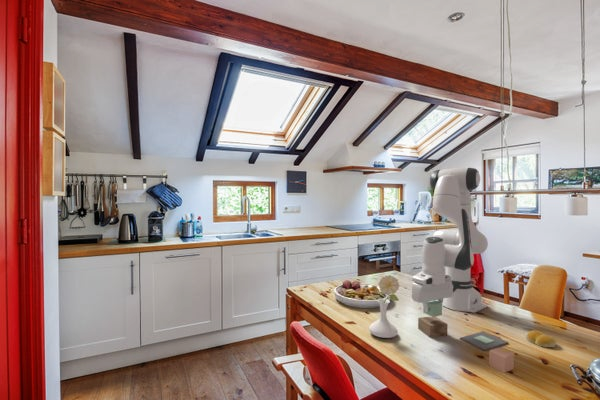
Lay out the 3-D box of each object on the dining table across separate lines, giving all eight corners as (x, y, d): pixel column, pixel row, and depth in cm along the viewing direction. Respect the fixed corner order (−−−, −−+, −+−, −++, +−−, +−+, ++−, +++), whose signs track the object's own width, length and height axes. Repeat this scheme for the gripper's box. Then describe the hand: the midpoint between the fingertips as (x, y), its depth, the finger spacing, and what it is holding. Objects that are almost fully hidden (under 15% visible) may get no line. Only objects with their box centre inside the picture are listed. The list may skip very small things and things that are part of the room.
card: (483, 332, 126) (483, 330, 126) (508, 343, 117) (508, 341, 117) (460, 339, 120) (460, 337, 120) (484, 351, 111) (484, 348, 111)
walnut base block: (434, 327, 131) (435, 316, 131) (447, 336, 123) (447, 324, 123) (418, 329, 130) (418, 317, 129) (429, 338, 122) (429, 325, 122)
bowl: (402, 302, 161) (402, 288, 161) (362, 315, 144) (363, 298, 144) (361, 288, 186) (361, 275, 186) (323, 297, 169) (323, 283, 169)
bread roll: (547, 350, 113) (547, 339, 113) (522, 339, 121) (522, 329, 121) (561, 346, 116) (561, 336, 115) (536, 336, 124) (536, 326, 124)
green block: (432, 310, 129) (432, 299, 129) (441, 315, 125) (442, 303, 125) (423, 312, 127) (423, 300, 127) (433, 317, 123) (433, 304, 123)
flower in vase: (363, 332, 125) (363, 272, 125) (380, 325, 132) (381, 268, 132) (389, 345, 115) (390, 279, 114) (407, 337, 122) (408, 275, 121)
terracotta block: (498, 361, 104) (498, 347, 104) (513, 369, 100) (514, 354, 100) (489, 365, 102) (489, 350, 102) (504, 373, 98) (504, 357, 98)
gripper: (444, 272, 133) (443, 304, 133) (409, 277, 125) (408, 310, 125) (457, 276, 127) (456, 308, 128) (421, 281, 119) (420, 316, 119)
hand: (432, 310), depth 126 cm, fingers closed on green block, 5 cm apart
